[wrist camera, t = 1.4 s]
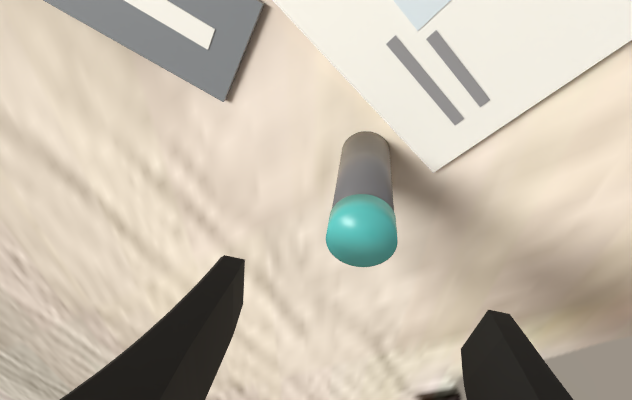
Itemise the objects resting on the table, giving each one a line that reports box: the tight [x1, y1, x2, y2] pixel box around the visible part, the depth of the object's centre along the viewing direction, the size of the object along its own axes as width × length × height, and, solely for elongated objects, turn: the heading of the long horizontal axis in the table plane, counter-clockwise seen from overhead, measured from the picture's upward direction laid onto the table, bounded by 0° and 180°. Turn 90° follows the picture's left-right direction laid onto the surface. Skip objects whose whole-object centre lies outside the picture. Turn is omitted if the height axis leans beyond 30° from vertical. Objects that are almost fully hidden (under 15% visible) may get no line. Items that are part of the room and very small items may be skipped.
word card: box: [44, 0, 265, 102], centre depth 16 cm, size 9×5×1 cm, turn 61°
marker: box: [326, 132, 397, 267], centre depth 16 cm, size 3×3×7 cm
